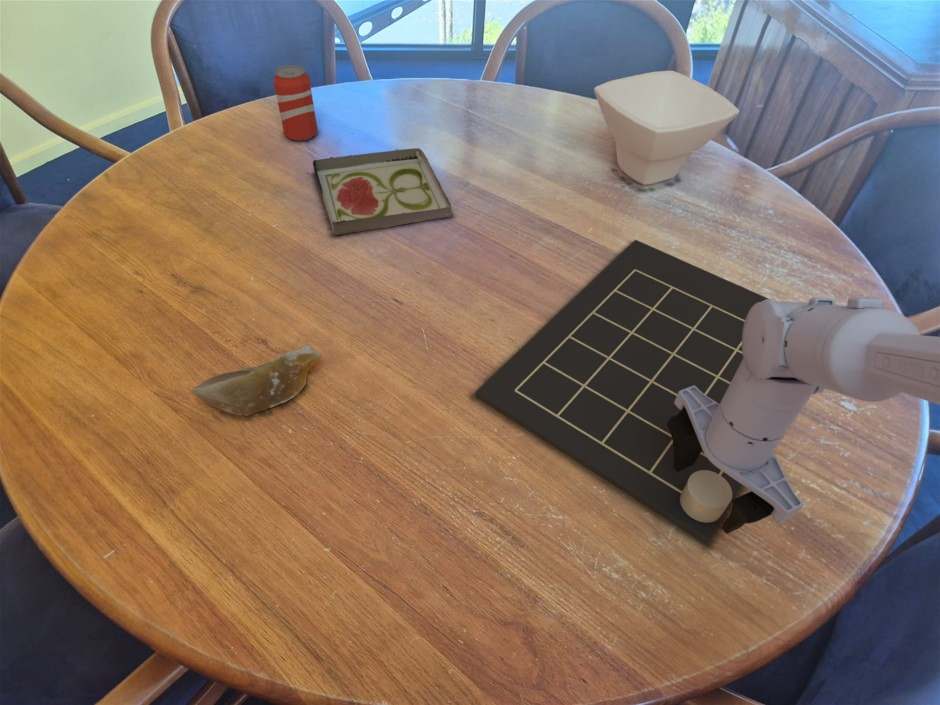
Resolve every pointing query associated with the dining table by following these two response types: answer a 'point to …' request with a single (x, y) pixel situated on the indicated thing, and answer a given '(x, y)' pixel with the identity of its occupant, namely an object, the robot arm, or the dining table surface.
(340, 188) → the decorative tile
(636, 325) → the board
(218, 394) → the stone
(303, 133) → the beverage can
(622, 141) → the bowl
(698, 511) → the cylinder
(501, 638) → the dining table surface
